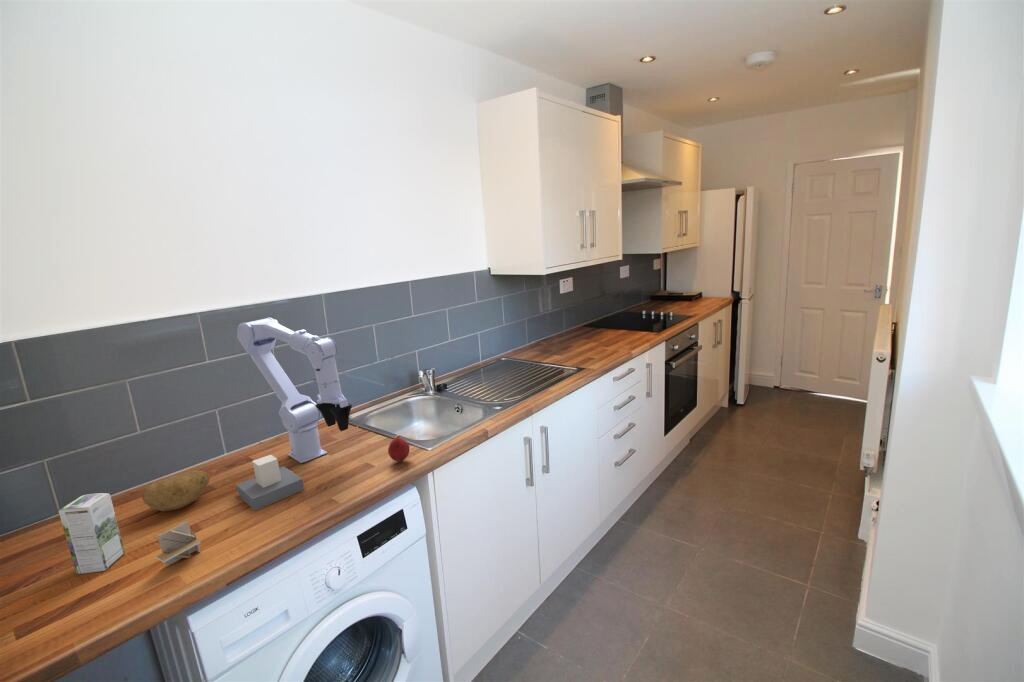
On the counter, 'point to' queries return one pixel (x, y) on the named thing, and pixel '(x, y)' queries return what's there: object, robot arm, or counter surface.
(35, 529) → the counter surface
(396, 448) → the onion
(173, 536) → the architectural model
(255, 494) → the riser block
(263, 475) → the cream block
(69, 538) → the syrup box
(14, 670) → the counter surface
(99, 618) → the counter surface
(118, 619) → the counter surface
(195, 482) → the potato
